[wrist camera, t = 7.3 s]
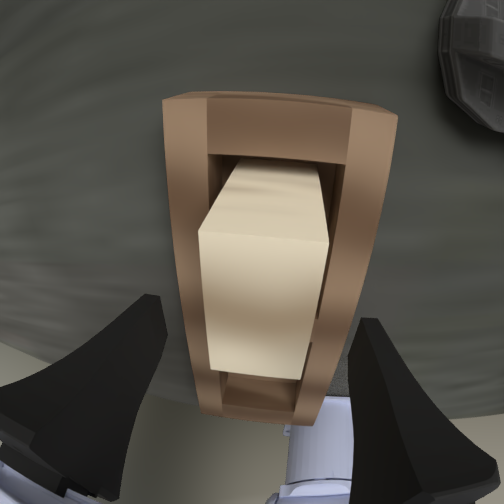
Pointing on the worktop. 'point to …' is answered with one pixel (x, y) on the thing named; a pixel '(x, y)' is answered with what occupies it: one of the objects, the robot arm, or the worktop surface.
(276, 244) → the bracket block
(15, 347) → the worktop surface
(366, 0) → the worktop surface
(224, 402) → the wooden compartment tray
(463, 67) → the dark grey angled stand
